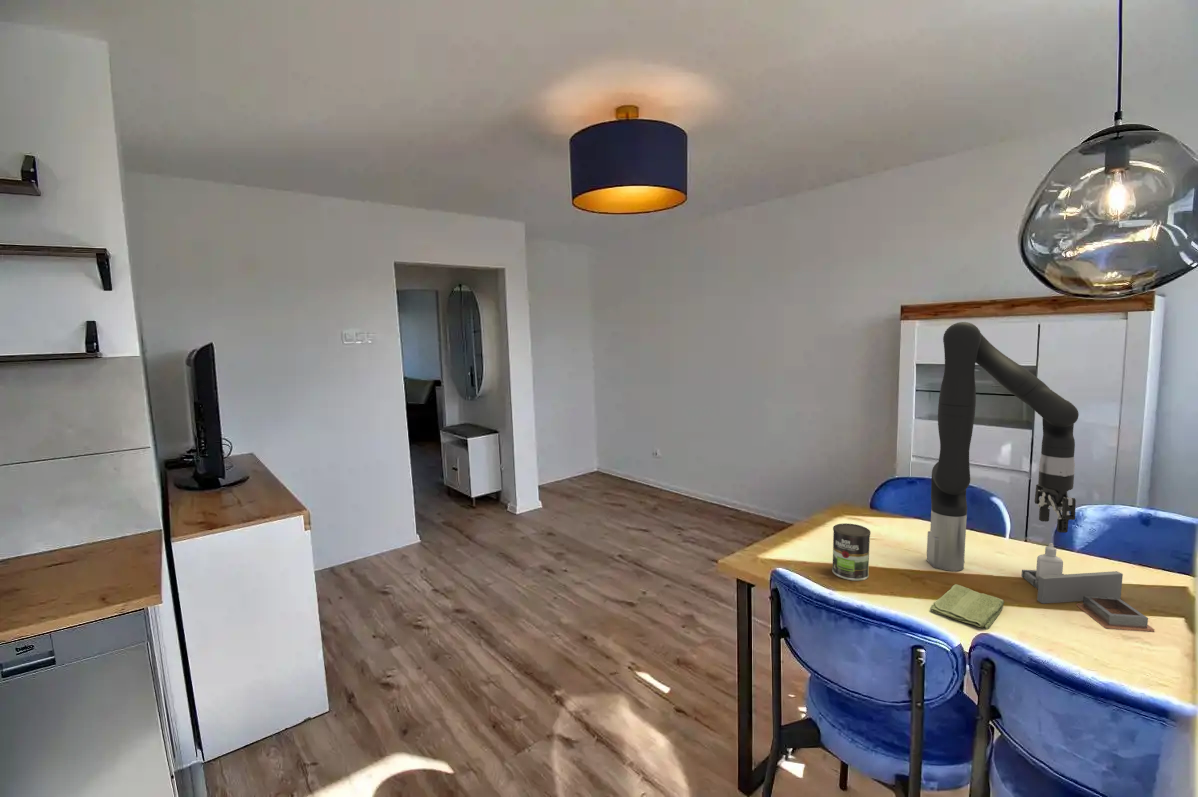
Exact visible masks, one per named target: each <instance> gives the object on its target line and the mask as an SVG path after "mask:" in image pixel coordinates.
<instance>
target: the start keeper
mask: <svg viewBox="0 0 1198 797" xmlns="http://www.w3.org/2000/svg"><path fill="white" fill-rule="evenodd" d="M1062 575H1064V573H1062ZM1021 577H1022V578H1023V579H1024V580H1025V581H1027V582H1028V583H1029V584H1030V585H1032V586H1033V587H1034V588H1035V589H1036V590H1038V584H1039V580H1038V579H1037V578H1036V569H1033V570H1032V569H1021Z"/></svg>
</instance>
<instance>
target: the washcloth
mask: <svg viewBox="0 0 1198 797" xmlns="http://www.w3.org/2000/svg"><path fill="white" fill-rule="evenodd" d="M1004 603H1005V600H1004V599H1001V598H999V597H996V596H994V595H990V594H986V593H980V592H978V591H977V590H976V591H975V590H973V589H971V588H968V587H965V586H963V585H960V584H957V583H955V584H954V585H952V586H951V587H950V589H949V590H947V592H945V593H944V594H943V595H942V596H940V597H939V598H937V599H936V600H935V601H934V602H933V604H931V606H930V608H929V609H930V610H929V611H931V612H933V613H935V614H939V615H942V616H945V617H949V618H950V619H953V620H954V621H959V622H963V623H965V624H970V625H973V626H976V627H978V628H982V629H983V630H988V629H990V627H991V626H992V625H993V623H994V622H995V621H996V619H997V618H998V616H999V615H1000V613H1001V611H1002V609H1003V608H1004V605H1005V604H1004Z"/></svg>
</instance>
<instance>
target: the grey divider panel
mask: <svg viewBox="0 0 1198 797" xmlns="http://www.w3.org/2000/svg"><path fill="white" fill-rule="evenodd" d="M1063 574H1064V573H1063ZM1123 575H1124V574H1123V573H1122V572H1119V571H1118V570H1117V571H1116V570H1115V571H1100V572H1099V571H1098V572H1083V573H1068V574H1064V575H1048V576H1039V584H1038V589H1037V602H1039V603H1041V604H1054V603H1055V604H1056V603H1057V604H1058V603H1073V602H1083V598H1084V596H1095V597H1111V598H1120V599H1121V598H1122V586H1123Z"/></svg>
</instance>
